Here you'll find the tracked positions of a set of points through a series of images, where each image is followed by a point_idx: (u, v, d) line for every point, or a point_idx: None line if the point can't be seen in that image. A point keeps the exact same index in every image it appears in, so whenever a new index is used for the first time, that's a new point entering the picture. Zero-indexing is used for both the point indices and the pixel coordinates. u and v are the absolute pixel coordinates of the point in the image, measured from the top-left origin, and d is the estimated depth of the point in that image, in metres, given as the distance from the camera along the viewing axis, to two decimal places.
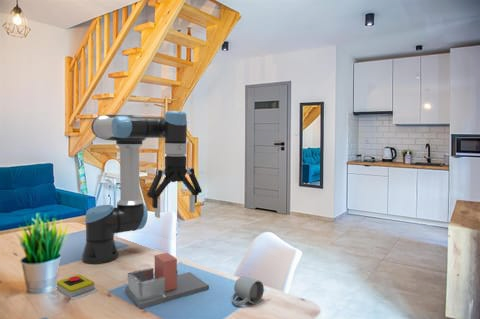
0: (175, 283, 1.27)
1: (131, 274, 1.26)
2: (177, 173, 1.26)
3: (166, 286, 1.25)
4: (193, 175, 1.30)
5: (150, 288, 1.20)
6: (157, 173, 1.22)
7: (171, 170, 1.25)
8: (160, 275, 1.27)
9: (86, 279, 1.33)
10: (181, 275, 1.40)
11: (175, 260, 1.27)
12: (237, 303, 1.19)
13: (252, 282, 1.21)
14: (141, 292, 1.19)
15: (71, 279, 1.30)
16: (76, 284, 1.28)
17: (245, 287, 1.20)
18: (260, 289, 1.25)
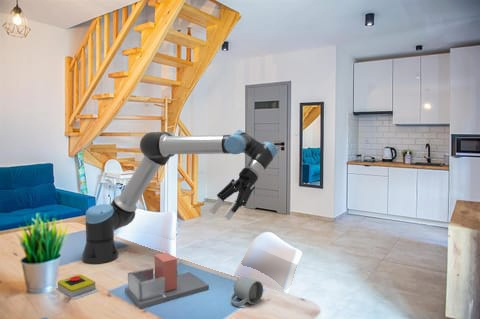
0: (175, 283, 1.27)
1: (131, 274, 1.26)
2: None
3: (166, 286, 1.25)
4: None
5: (150, 288, 1.20)
6: (252, 188, 1.41)
7: None
8: (160, 275, 1.27)
9: (87, 279, 1.33)
10: (181, 275, 1.40)
11: (175, 260, 1.27)
12: (236, 303, 1.19)
13: (251, 282, 1.20)
14: (141, 292, 1.19)
15: (72, 279, 1.30)
16: (77, 284, 1.28)
17: (245, 288, 1.20)
18: (259, 289, 1.24)
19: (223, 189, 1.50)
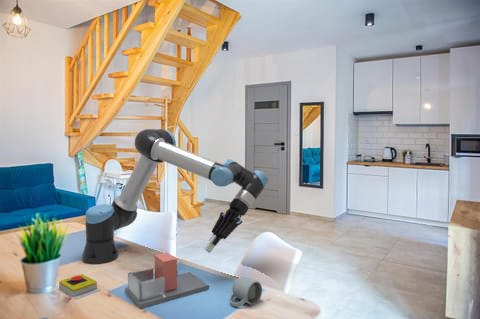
0: (175, 283, 1.27)
1: (131, 274, 1.26)
2: None
3: (166, 286, 1.25)
4: None
5: (150, 288, 1.20)
6: (239, 223, 1.39)
7: None
8: (160, 275, 1.27)
9: (89, 279, 1.33)
10: (181, 275, 1.40)
11: (175, 260, 1.27)
12: (235, 304, 1.18)
13: (250, 283, 1.20)
14: (141, 292, 1.19)
15: (74, 279, 1.30)
16: (79, 283, 1.29)
17: (244, 288, 1.20)
18: (258, 290, 1.24)
19: (216, 224, 1.44)
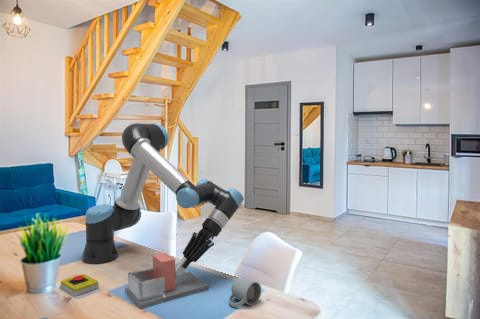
0: (173, 283, 1.27)
1: (131, 274, 1.26)
2: None
3: None
4: None
5: (150, 288, 1.20)
6: (210, 245, 1.33)
7: None
8: (159, 275, 1.26)
9: (90, 278, 1.33)
10: (181, 275, 1.40)
11: (173, 260, 1.26)
12: (234, 304, 1.18)
13: (249, 283, 1.20)
14: (141, 292, 1.19)
15: (75, 278, 1.30)
16: (80, 283, 1.29)
17: (243, 289, 1.19)
18: (257, 290, 1.24)
19: (187, 245, 1.38)
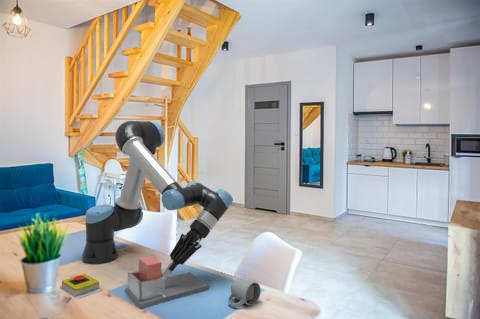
0: None
1: (131, 274, 1.26)
2: None
3: None
4: None
5: (150, 288, 1.20)
6: (198, 247, 1.30)
7: None
8: (144, 279, 1.23)
9: (91, 278, 1.33)
10: (181, 275, 1.40)
11: (159, 263, 1.23)
12: (233, 305, 1.18)
13: (249, 283, 1.20)
14: (141, 292, 1.19)
15: (76, 278, 1.30)
16: (81, 283, 1.29)
17: (242, 289, 1.19)
18: (257, 291, 1.23)
19: (175, 247, 1.35)
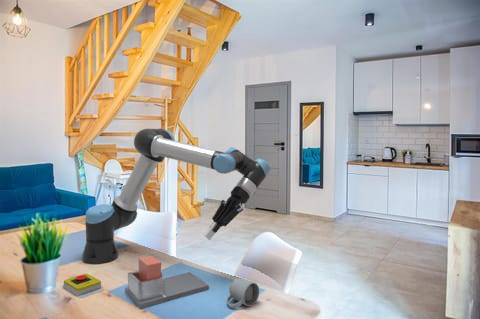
0: None
1: (131, 274, 1.26)
2: None
3: None
4: None
5: (150, 288, 1.20)
6: (240, 210, 1.39)
7: None
8: (144, 279, 1.23)
9: (93, 278, 1.34)
10: (181, 275, 1.40)
11: (159, 263, 1.23)
12: (232, 305, 1.17)
13: (247, 284, 1.19)
14: (141, 292, 1.19)
15: (78, 278, 1.31)
16: (83, 283, 1.29)
17: (240, 290, 1.19)
18: (255, 291, 1.23)
19: (217, 211, 1.44)
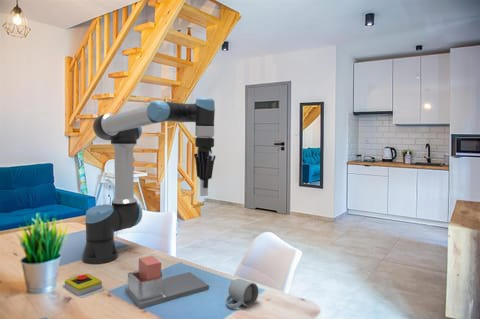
0: None
1: (131, 274, 1.26)
2: None
3: None
4: None
5: (150, 288, 1.20)
6: (213, 159, 1.40)
7: None
8: (144, 279, 1.23)
9: (94, 278, 1.34)
10: (181, 275, 1.40)
11: (159, 263, 1.23)
12: (231, 306, 1.17)
13: (246, 284, 1.19)
14: (141, 292, 1.19)
15: (79, 278, 1.31)
16: (84, 283, 1.30)
17: (240, 290, 1.18)
18: (255, 291, 1.23)
19: (196, 168, 1.47)
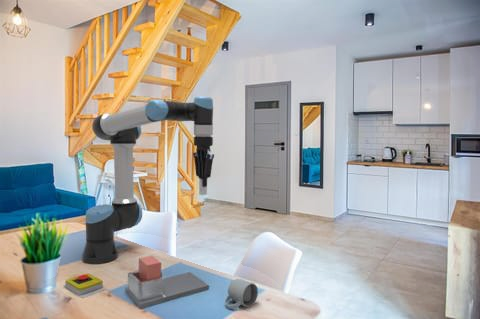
0: None
1: (131, 274, 1.26)
2: None
3: None
4: None
5: (150, 288, 1.20)
6: (212, 157, 1.39)
7: None
8: (144, 279, 1.23)
9: (94, 277, 1.34)
10: (181, 275, 1.40)
11: (159, 263, 1.23)
12: (230, 306, 1.17)
13: (246, 285, 1.19)
14: (141, 292, 1.19)
15: (80, 277, 1.31)
16: (85, 282, 1.30)
17: (239, 290, 1.18)
18: (254, 292, 1.23)
19: (195, 167, 1.47)
